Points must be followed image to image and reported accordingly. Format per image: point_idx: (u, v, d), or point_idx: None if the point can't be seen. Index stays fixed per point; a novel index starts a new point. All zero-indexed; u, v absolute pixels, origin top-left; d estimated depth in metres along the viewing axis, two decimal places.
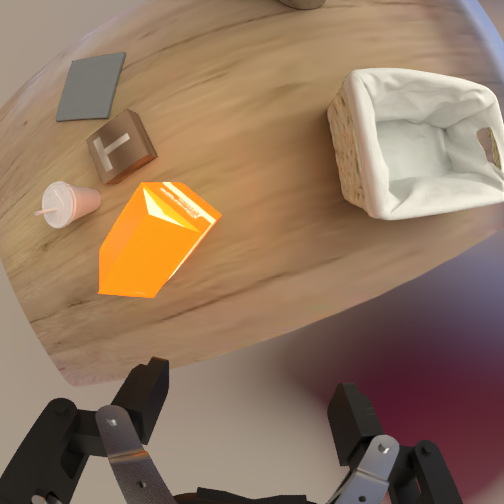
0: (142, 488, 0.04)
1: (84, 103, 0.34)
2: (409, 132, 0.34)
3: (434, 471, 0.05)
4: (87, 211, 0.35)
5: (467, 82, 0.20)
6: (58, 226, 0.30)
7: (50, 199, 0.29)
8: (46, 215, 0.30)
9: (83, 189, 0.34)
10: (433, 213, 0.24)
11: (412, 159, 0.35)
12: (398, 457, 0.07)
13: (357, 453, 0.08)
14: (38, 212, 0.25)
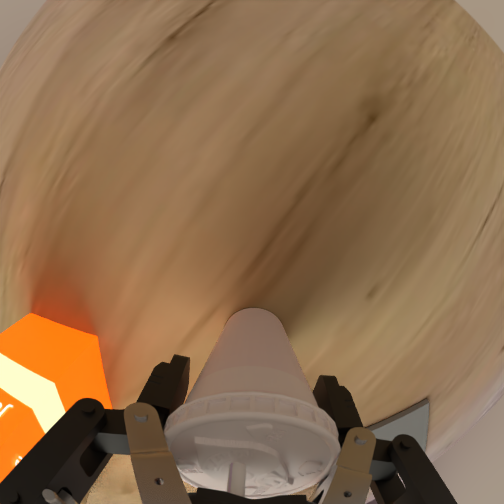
0: (159, 485, 0.05)
1: None
2: None
3: (416, 465, 0.06)
4: None
5: None
6: (190, 427, 0.07)
7: (286, 470, 0.07)
8: (289, 432, 0.07)
9: None
10: None
11: None
12: (375, 450, 0.07)
13: None
14: None
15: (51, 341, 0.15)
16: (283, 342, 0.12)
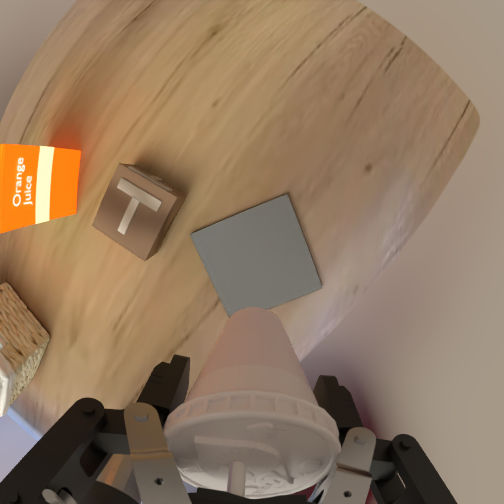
0: (159, 485, 0.05)
1: (243, 237, 0.31)
2: None
3: (416, 465, 0.06)
4: None
5: (0, 410, 0.26)
6: (190, 426, 0.07)
7: (286, 469, 0.07)
8: (289, 431, 0.07)
9: None
10: None
11: None
12: (375, 450, 0.07)
13: None
14: None
15: None
16: (283, 341, 0.12)
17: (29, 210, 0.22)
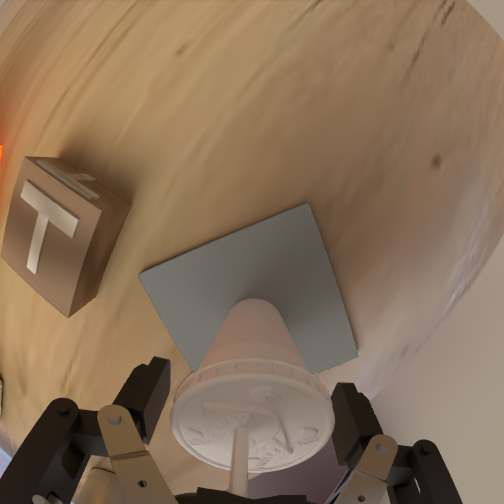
0: (143, 488, 0.04)
1: (229, 282, 0.17)
2: None
3: (433, 471, 0.05)
4: None
5: None
6: (200, 391, 0.08)
7: (285, 437, 0.09)
8: (286, 395, 0.08)
9: None
10: None
11: None
12: (397, 457, 0.07)
13: (356, 452, 0.08)
14: None
15: None
16: (281, 325, 0.14)
17: None
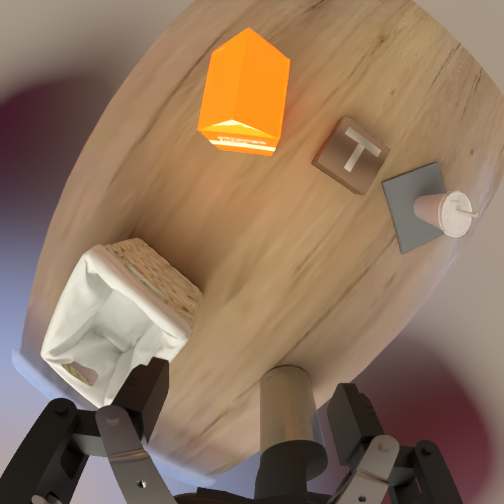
0: (142, 488, 0.04)
1: (415, 188, 0.37)
2: (138, 327, 0.43)
3: (434, 471, 0.05)
4: (424, 206, 0.34)
5: None
6: (450, 195, 0.28)
7: (463, 216, 0.29)
8: (463, 199, 0.28)
9: None
10: (65, 287, 0.28)
11: (121, 310, 0.42)
12: (398, 457, 0.07)
13: (357, 453, 0.08)
14: (474, 216, 0.25)
15: None
16: None
17: None
